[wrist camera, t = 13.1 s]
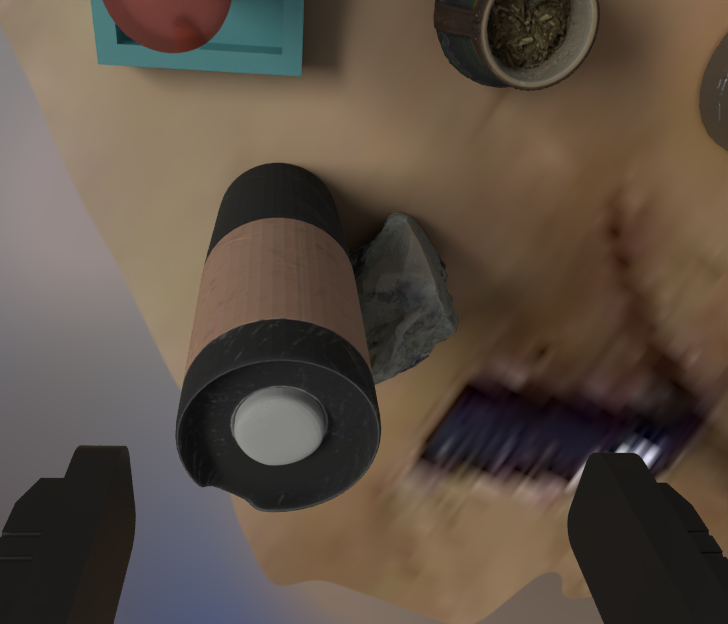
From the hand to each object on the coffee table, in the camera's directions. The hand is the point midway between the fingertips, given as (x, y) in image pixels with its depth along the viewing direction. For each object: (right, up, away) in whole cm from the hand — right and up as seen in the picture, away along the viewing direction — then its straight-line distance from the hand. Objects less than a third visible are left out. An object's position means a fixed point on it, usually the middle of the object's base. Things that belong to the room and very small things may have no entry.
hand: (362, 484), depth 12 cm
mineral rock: (-1, +5, +33) cm, 33 cm away
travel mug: (-5, +9, +30) cm, 31 cm away
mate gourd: (+7, +20, +24) cm, 32 cm away
